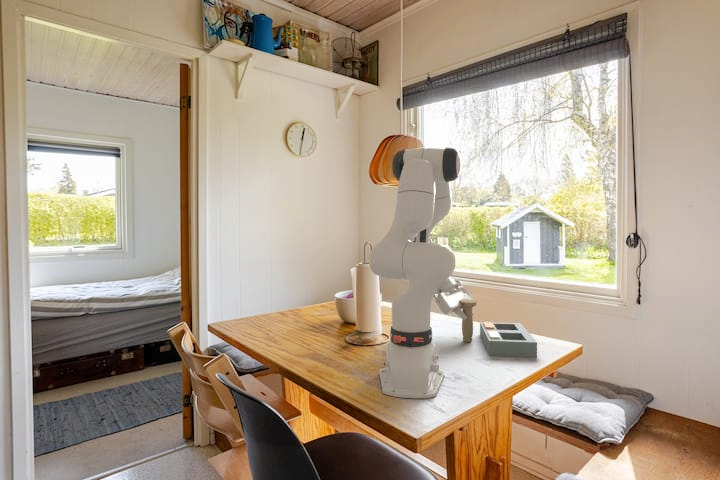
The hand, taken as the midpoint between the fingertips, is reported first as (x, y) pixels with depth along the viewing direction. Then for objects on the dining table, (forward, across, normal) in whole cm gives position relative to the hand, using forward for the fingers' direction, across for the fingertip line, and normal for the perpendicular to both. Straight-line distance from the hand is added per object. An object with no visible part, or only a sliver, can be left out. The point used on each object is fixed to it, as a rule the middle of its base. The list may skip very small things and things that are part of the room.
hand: (469, 317), depth 147 cm
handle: (+6, 0, +7) cm, 9 cm away
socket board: (+15, +4, -3) cm, 16 cm away
